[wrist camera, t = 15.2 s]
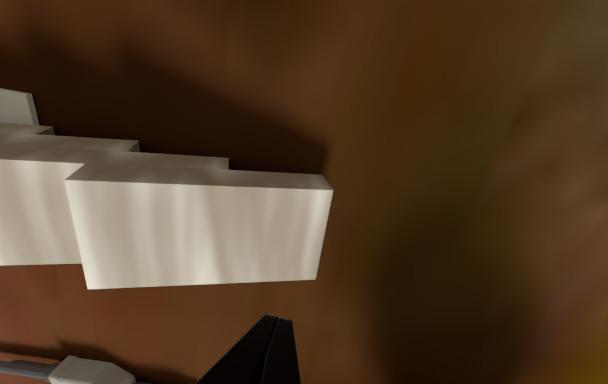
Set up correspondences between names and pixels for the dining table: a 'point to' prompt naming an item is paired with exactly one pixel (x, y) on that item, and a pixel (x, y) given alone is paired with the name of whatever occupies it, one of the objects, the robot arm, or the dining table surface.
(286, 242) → the domino
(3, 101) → the end pad
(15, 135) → the domino
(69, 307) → the dining table surface
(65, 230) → the domino
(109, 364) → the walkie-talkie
